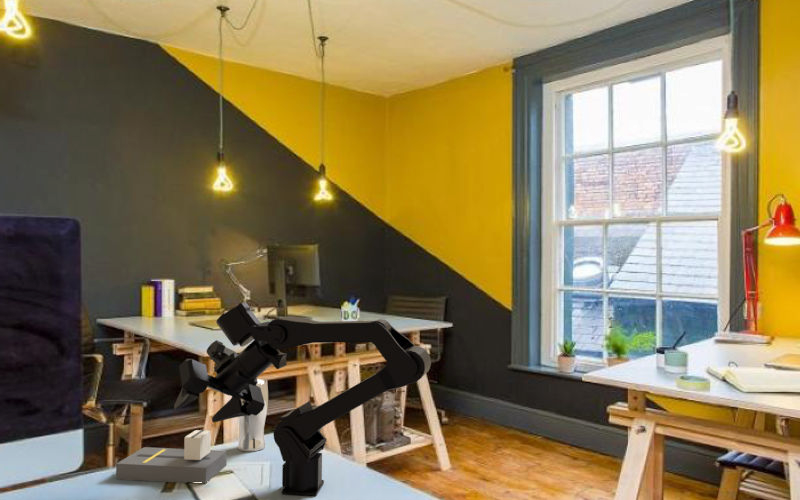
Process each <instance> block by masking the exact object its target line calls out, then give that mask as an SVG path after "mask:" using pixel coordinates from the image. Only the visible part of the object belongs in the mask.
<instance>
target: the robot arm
mask: <svg viewBox="0 0 800 500" xmlns="http://www.w3.org/2000/svg"><path fill="white" fill-rule="evenodd" d="M215 323H216V325H217V326H218V328H220V330H221V331H222V333H223V334H224V335H225V337H226V338H227V339H228V341H229V342H230V343H231V344H232V346H234V347H236V346H238V345H239V346H240V347H242V348H243V347H245V346H246V347H245V348H244V349H243V350H242V351H240V353H239V354H238V352H236V351H234V350H233V349H232V348H228V347H226V345H225V344H224V343H223V342H221V341H219V340H217V339H215V340H214V341H213V342H212V343H210V344H209V346H208V347H207V348H206V350H205V351H206V354H207V355H208V357H209V359H210V360H212V361H213V363H214V364H215V365H214V366H213V369H214V370H213V371H214V373H215V374H216V375H215V376H213V375H210V374H208V369H207V364H204V363H203V362H199V361H197V360H196V359H193V358H187V359H185V360H184V361H183V362H182V363H181V364H179V375H180V381H181V390H180V392H179V394H178V397H177V399H176V401H175V403H174V405H173V407H174V408H173V409H174V411H175V410H179V409H181V408H183V407H185V406H187V405H188V404H190V403H191V402H193V401H196V399H199V398H200V394H202V393H204V392H205V391H206V390H207V389H211V390H213V391H216V392H218V393H221V394H224V395H226V396H231V398H230V399H229V400H228V401H227V402H226V403H225V404H224V405H223V406H221V408H220V409H219V410H218V411H217V412H216V413H215V414H214V415H213V416H212V417H211V421H212V423H218V422H221V421H227V420H230V419H235V418H238V417H240V416H246V415H247V416H250V415H251V414H253V415H255V416H257V415H258V414H259V413H260V412H261V411H262V410H263V409H264V406H265V403H264V399H263V395H262V392H261V388H260V387H258V386H256V384H257V383H258V381H257V379H258V377H260V376H261V375H262V374H263V373H264V372H265V371H266V370H268V369H269V367H270V366H273V367H274V368H275V369H276V370H279V369H282V368H285V367H287V355H288V354H287V353H286V352H285V353H284V352H282V351H281V350H286V349H291V348H296V347H300V346H304V345H309V344H315V343H317V344H318V343H372V344H373V345H374V347H375V348H376V349H377V351H378V352H379V353H380V355H381V356H382V358H383V359H384V360H385V361H386V364H385V365H383V367H382V368H380V370H378V371H377V372H376V373H374V374H372V375H371V376H369V377H367V378H365V379H363V380H362V381H360V382H358V383H357V384H354V385H353V386H351V387H350V388H348V389H346V390H344V391H343V392H341V393H339V394H337V395H335V396H334V397H332V398H331V399H329V400H327V401H325V402H323V403H321V404H319V405H315V406H312V403H311V400H308V401H307V402H304V403H303V404H302V405H299V406H297V407H296V408H293V409H292V410H291V411H288V412H287V413H286V414H284V415H282V416H280V417H279V420H280V421H279V422H278V423H277V424H276V425H275V426H274V430H273V440H274V442H275V444H276V446H277V447H278V449H279V451H280V452H279V453H280V456H281V458H282V461H283V464H282V469H281V471H282V475H281V476H282V477H281V479H282V480H281V481H282V482H281V485H282V487H283V489H282V490H281V494H284V495H297V496H317V495H318V494H319V492H320V491H321V489H322V488H323V485H324V483H325V480H324V479H323V453H321V451H323V450H324V448H325V446H326V443H327V438H326V437H325V436H324V435H323V433H322V432H321V431H322V429H323V428H324V427H325V426H326V425H328V424H330V423H332V422H334V421H336V420H337V419H339V418H341V417H342V416H344V415H347V414H348V413H349V412H352V411H353V410H355V409H356V408H358V407H361V406H362V405H364V404H366V403H368V402H369V401H370V400H373V399H375V398H376V397H379V395H381V394H382V395H383V393H385V392H389V391H392V390H396V389H401V388H402V387H403V388H404V387H406V386H409V385H411V384H415V383H417V382H418V381H420V380H421V379H422V378H423V377H424V376H425V375H426V374H427V373H428V372H429V370H430V369H431V365H432V360H431V356H430V353H429V352H428V351H427V349H425V348H423V347H422V346H418V345H415V344H414V343H413V342H412V341H411V340H410V339H409V338H408V337H406V336H405V335H404V334H402V332H400V331H398V330H397V329H395V327H393V325H391V323H390V322H389V321H387V320H386V319H382V318H380V319H376V320H342V321H341V320H340V321H338V320H337V321H332V320H331V321H318V320H312V319H310V318H306V317H299V316H295V315H290V316H285V317H281V318H280V317H279V318H275V319H272V320H270V321H265V322H261V321H260V320H259V319H258V317H256V314H254V312H253V311H252V309H251V307H250V306H249V304H248V303H247V302H240V303H238V305H237V306H234V307H231V309H229V310H228V311H226V312H223V313H222V314H221V315H220V316H219V317H218V318H217V319H216V322H215Z"/></svg>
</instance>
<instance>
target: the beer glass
mask: <svg viewBox="0 0 800 500" xmlns="http://www.w3.org/2000/svg"><path fill="white" fill-rule="evenodd" d="M257 381H258V383H257V384H256V386H258V387H260V388H261V392H262V395H263V399H264V403H265V406H264V409H263V410H262V411H261V412H260V413H259V414H258V415H257V416H255V415H253V414H251V415H250V416H247V415H246V416H240V417H237V418H238V425H239V440H238V443H237V444H238V445H237V449H238V450H239V451H241V452H245V453H246V452H248V453H249V452H251V453H252V452H258V451H260V450H264V449H265V448H266V442H265V441H266V440H265V425H266V424H265V423H266V418H267V413H268V407H269V389H268V387H269V386H268V379H265V378H257Z"/></svg>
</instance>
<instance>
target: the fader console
mask: <svg viewBox="0 0 800 500" xmlns="http://www.w3.org/2000/svg"><path fill="white" fill-rule="evenodd" d="M227 460H228V451H227V450H217V449H216V450H213V449H210V453H208V454H207V455H206V456H205V457H203V458H202V459H201V460H188V459H184V448H171V447H169V448H167V447H149V446H144V447H142V448H140V449H139V450H137V451H135V452H133V453H132V454H131V455H128V456H126V457H125V458H123V459H122V460H119V462H117V463H115V464H116V465H115V467H116V468H115V469H116V471H115V479H116V480H122V481H123V480H124V481H125V480H127V481H128V480H129V481H146V482H165V483H167V482H168V483H181V484H182V483H183V484H188V483H187V482H202V483H206V482H207V481H208V482H210V481H211V480H210V479H211V478H212V477H213V476H214V475H215V476H217V475H218V474H219V473H220V472H221V471H222V470H223V469H225V467H227V466H226V465H228V464H227V463H228V462H227ZM218 472H219V473H218ZM215 476H214V477H215ZM214 477H213V478H214ZM213 478H212V479H213ZM208 482H207V483H208ZM207 483H206V484H207Z"/></svg>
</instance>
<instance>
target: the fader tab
mask: <svg viewBox="0 0 800 500" xmlns="http://www.w3.org/2000/svg"><path fill="white" fill-rule="evenodd" d="M211 435H212V431H211V430H205V429H200V430H199V429H196V430H193V431H192V432H191V433H189V434H187V435H186V436H185V437H184V446H183V449H184V459H188V460H201V459H202V458H203V457H205V456H206V455H207V454H208V453H210V450H211V445H212V444H211V442H212V441H211Z"/></svg>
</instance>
